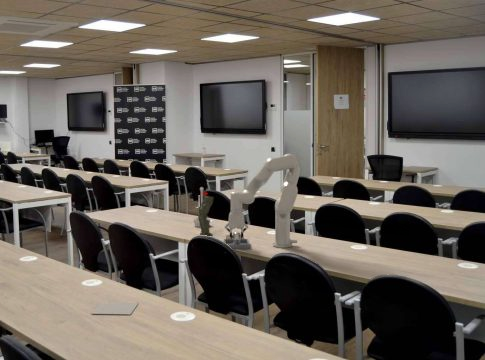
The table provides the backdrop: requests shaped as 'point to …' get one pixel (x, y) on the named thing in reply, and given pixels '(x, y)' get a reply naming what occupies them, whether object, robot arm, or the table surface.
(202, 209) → the mechanical leg
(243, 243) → the tray
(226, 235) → the pin block
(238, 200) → the robot arm
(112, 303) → the grey flat slab
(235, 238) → the pin
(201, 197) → the flag stand
